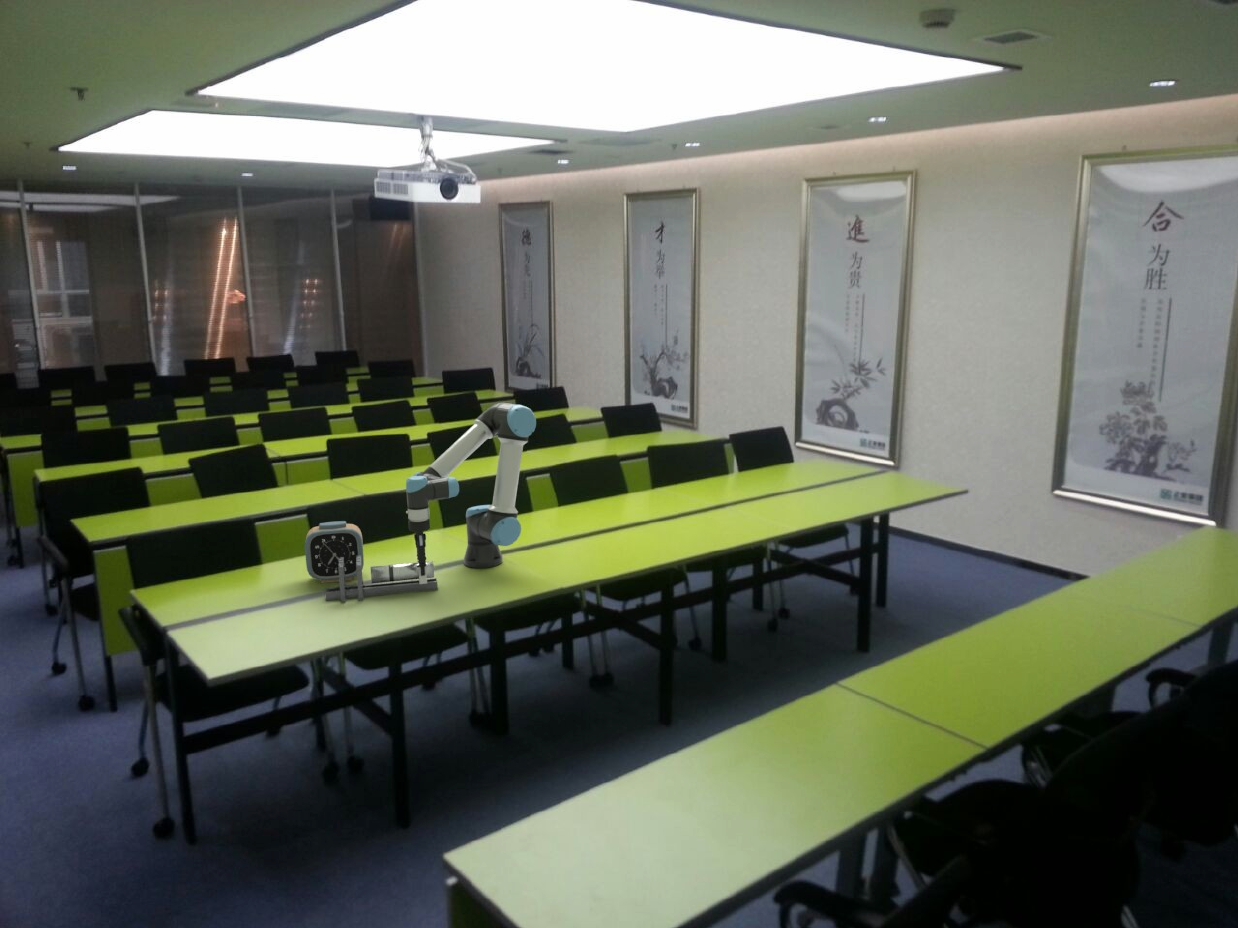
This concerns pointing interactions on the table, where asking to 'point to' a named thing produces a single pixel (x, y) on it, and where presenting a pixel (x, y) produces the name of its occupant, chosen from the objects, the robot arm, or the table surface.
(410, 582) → the gray metal rack
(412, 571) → the tube
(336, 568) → the alarm clock
